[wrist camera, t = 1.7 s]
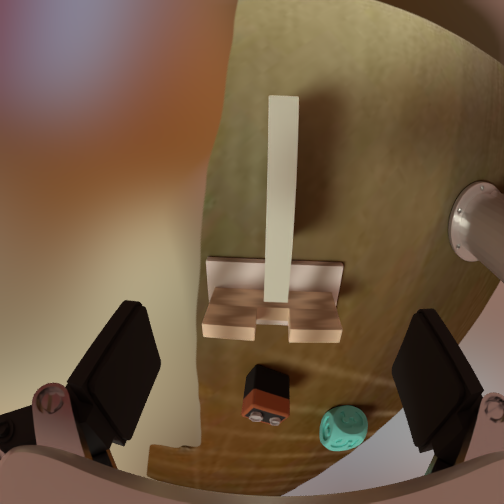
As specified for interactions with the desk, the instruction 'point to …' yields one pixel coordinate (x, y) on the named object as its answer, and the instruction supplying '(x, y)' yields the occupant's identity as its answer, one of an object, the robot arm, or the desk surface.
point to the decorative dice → (343, 428)
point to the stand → (274, 313)
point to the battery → (266, 396)
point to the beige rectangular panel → (280, 195)
